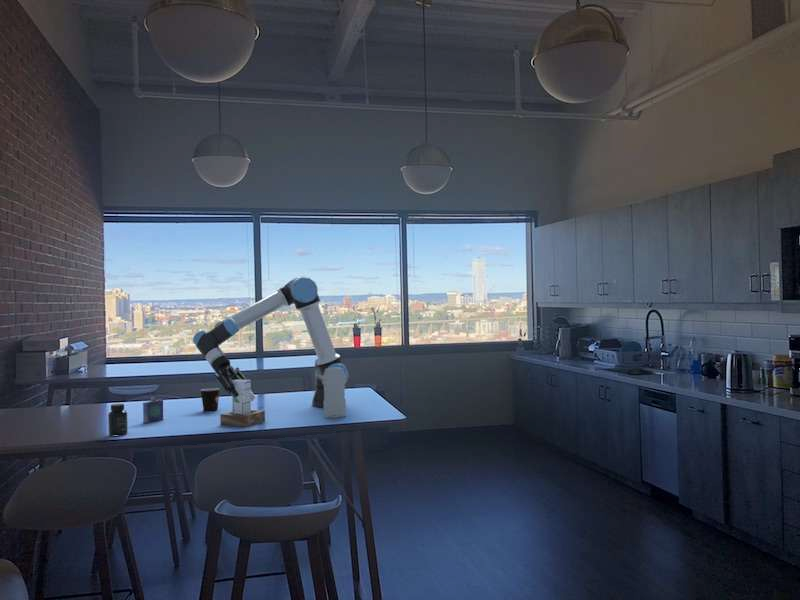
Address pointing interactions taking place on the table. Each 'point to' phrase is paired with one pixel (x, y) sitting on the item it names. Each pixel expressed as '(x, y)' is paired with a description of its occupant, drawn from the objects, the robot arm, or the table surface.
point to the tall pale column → (334, 393)
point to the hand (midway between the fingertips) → (248, 400)
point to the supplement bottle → (117, 420)
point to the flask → (153, 410)
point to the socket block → (242, 418)
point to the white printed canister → (245, 390)
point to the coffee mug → (210, 399)
